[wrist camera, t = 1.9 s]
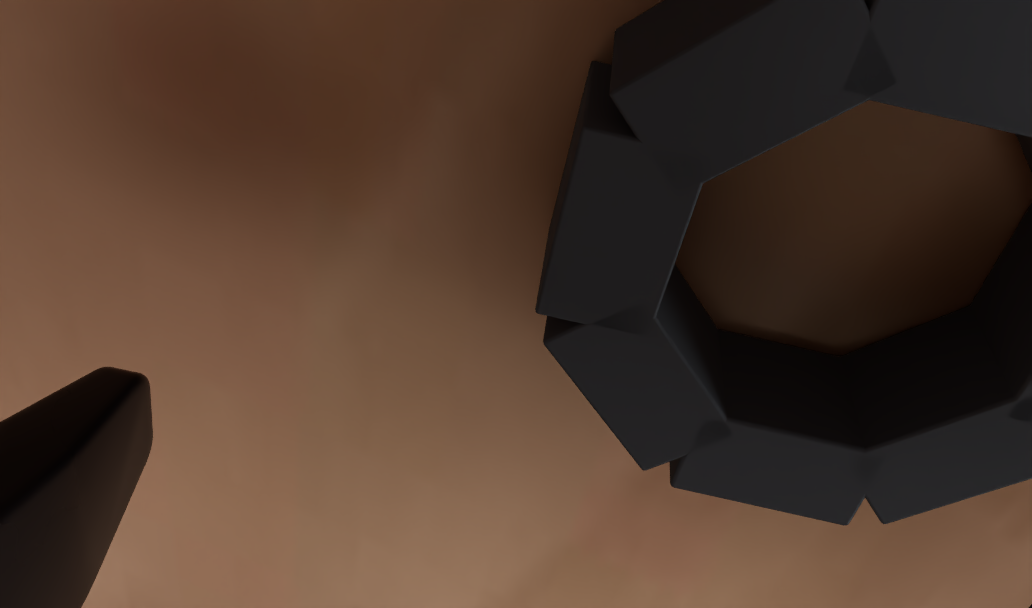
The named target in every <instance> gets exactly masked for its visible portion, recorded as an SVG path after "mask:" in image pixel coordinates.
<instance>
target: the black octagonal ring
mask: <svg viewBox="0 0 1032 608" xmlns="http://www.w3.org/2000/svg"><path fill="white" fill-rule="evenodd" d="M868 100H872V101H876V102H880V103H885V104H889V105H893V106H898V107H902V108H906V109H911V110H915V111H919V112H924V113H928V114H932V115H937V116H941V117H945V118H950V119H954V120H958V121H963V122H967V123H971V124H976V125H980V126H984V127H989V128H993V129H997V130H1002V131H1006V132H1010V133H1015V134H1016V136H1017V138H1018V141H1019V143H1020V146H1021V148H1022V150H1023V153H1024V155H1025V158H1026V160H1027V162H1028V165H1029V167H1030V170H1031V172H1032V0H664V1H662V2H661V3H659V4H657V5H656V6H654V7H652V8H651V9H649V10H647V11H646V12H644V13H642V14H641V15H639V16H637V17H636V18H634V19H632V20H631V21H629V22H628V23H626V24H624V25H623V26H621V27H619V28H618V29H616V31H615V36H614V47H613V58H612V65H610V64H606V63H601V62H597V61H592V62H591V64H590V68H589V72H588V76H587V80H586V84H585V88H584V92H583V96H582V100H581V104H580V108H579V112H578V116H577V120H576V124H575V128H574V132H573V136H572V140H571V144H570V148H569V152H568V156H567V160H566V164H565V168H564V172H563V176H562V180H561V184H560V188H559V192H558V196H557V200H556V204H555V208H554V212H553V216H552V220H551V224H550V228H549V233H548V238H547V244H546V250H545V256H544V262H543V268H542V273H541V279H540V285H539V291H538V297H537V303H536V308H535V310H536V313H538V314H542V315H546V316H547V320H546V326H545V333H544V339H543V342H544V345H545V346H546V348H547V349H548V350H549V351H550V353H551V354H552V355H553V356H554V358H555V359H556V360H557V362H558V363H559V364H560V365H561V367H562V368H563V369H564V371H565V372H566V373H567V374H568V376H569V377H570V378H571V379H572V381H573V382H574V383H575V385H576V386H577V387H578V388H579V390H580V391H581V392H582V394H583V395H584V396H585V397H586V399H587V400H588V401H589V402H590V404H591V405H592V406H593V408H594V409H595V410H596V411H597V413H598V414H599V415H600V417H601V418H602V419H603V420H604V422H605V423H606V424H607V425H608V427H609V428H610V429H611V431H612V432H613V433H614V434H615V436H616V437H617V438H618V440H619V441H620V442H621V443H622V445H623V446H624V447H625V448H626V450H627V451H628V452H629V454H630V455H631V456H632V457H633V459H634V460H635V461H636V463H637V464H638V465H639V466H640V468H641V469H642V470H648V469H651V468H653V467H656V466H659V465H661V464H664V463H667V462H669V461H670V484H671V486H672V487H674V488H679V489H683V490H688V491H692V492H697V493H701V494H706V495H710V496H715V497H719V498H724V499H728V500H733V501H737V502H742V503H746V504H751V505H755V506H759V507H764V508H768V509H773V510H777V511H782V512H786V513H791V514H795V515H800V516H804V517H809V518H813V519H818V520H822V521H827V522H831V523H836V524H840V525H848V524H849V523H850V521H851V519H852V518H853V516H854V514H855V513H856V511H857V510H858V508H859V506H860V505H861V503H862V501H863V500H864V498H866V499H867V501H868V503H869V504H870V506H871V507H872V509H873V510H874V512H875V514H876V515H877V517H878V518H879V520H880V521H881V522H882V523H883V524H888V523H891V522H894V521H897V520H900V519H904V518H907V517H910V516H913V515H916V514H920V513H923V512H926V511H929V510H932V509H936V508H939V507H942V506H945V505H948V504H952V503H955V502H958V501H961V500H964V499H968V498H971V497H974V496H977V495H980V494H984V493H987V492H990V491H993V490H996V489H1000V488H1003V487H1006V486H1009V485H1012V484H1016V483H1019V482H1022V481H1025V480H1028V479H1032V204H1031V205H1030V207H1029V209H1028V210H1027V212H1026V214H1025V215H1024V217H1023V219H1022V220H1021V222H1020V224H1019V225H1018V227H1017V229H1016V230H1015V232H1014V234H1013V235H1012V237H1011V239H1010V240H1009V242H1008V244H1007V245H1006V247H1005V249H1004V250H1003V252H1002V254H1001V255H1000V257H999V259H998V260H997V262H996V264H995V265H994V267H993V269H992V270H991V272H990V274H989V275H988V277H987V279H986V280H985V282H984V284H983V285H982V287H981V289H980V290H979V292H978V294H977V295H976V297H975V299H974V300H973V302H972V304H971V305H970V306H968V307H966V308H963V309H961V310H958V311H956V312H953V313H950V314H948V315H945V316H943V317H940V318H938V319H935V320H933V321H930V322H928V323H925V324H923V325H920V326H917V327H915V328H912V329H910V330H907V331H905V332H902V333H900V334H897V335H895V336H892V337H890V338H887V339H884V340H882V341H879V342H877V343H874V344H872V345H869V346H867V347H864V348H862V349H859V350H857V351H854V352H851V353H849V354H846V355H844V356H841V357H838V356H834V355H829V354H825V353H820V352H816V351H812V350H807V349H803V348H798V347H794V346H789V345H785V344H781V343H776V342H772V341H767V340H763V339H759V338H754V337H750V336H745V335H741V334H736V333H732V332H728V331H723V330H719V329H717V327H716V326H715V324H714V323H713V321H712V320H711V318H710V317H709V315H708V314H707V312H706V311H705V309H704V308H703V306H702V305H701V303H700V302H699V300H698V299H697V297H696V295H695V294H694V292H693V291H692V289H691V288H690V286H689V285H688V283H687V282H686V280H685V279H684V277H683V276H682V274H681V273H680V271H679V270H678V268H677V267H676V265H675V261H676V258H677V256H678V253H679V250H680V247H681V244H682V241H683V239H684V236H685V233H686V230H687V227H688V224H689V222H690V219H691V216H692V213H693V210H694V207H695V205H696V202H697V199H698V196H699V193H700V190H701V188H702V185H703V183H705V182H707V181H709V180H711V179H713V178H715V177H717V176H719V175H721V174H723V173H725V172H727V171H728V170H730V169H732V168H734V167H736V166H738V165H740V164H742V163H744V162H746V161H748V160H750V159H752V158H754V157H756V156H758V155H760V154H762V153H764V152H766V151H768V150H770V149H772V148H774V147H776V146H778V145H780V144H782V143H784V142H786V141H788V140H790V139H792V138H794V137H796V136H798V135H800V134H802V133H804V132H806V131H808V130H810V129H812V128H814V127H816V126H818V125H820V124H822V123H824V122H826V121H828V120H830V119H832V118H834V117H836V116H838V115H840V114H842V113H844V112H846V111H848V110H850V109H852V108H854V107H856V106H858V105H860V104H862V103H864V102H866V101H868Z"/></svg>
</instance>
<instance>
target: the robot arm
mask: <svg viewBox="0 0 1032 608" xmlns="http://www.w3.org/2000/svg"><path fill="white" fill-rule="evenodd" d="M152 440H153V428H152V411H151V394H150V385H149V381H148V379H147V377H146V376H144V375H142V374H141V373H137V372H132V371H127V370H123V369H118V368H114V367H103V368H99V369H97V370H95V371H93V372H91V373H89V374H87V375H85V376H84V377H82V378H80V379H78V380H76V381H75V382H73V383H71V384H69V385H67V386H65V387H64V388H62V389H60V390H58V391H56V392H54V393H53V394H51V395H49V396H47V397H45V398H43V399H42V400H40V401H38V402H36V403H34V404H32V405H31V406H29V407H27V408H25V409H23V410H21V411H20V412H18V413H16V414H14V415H12V416H11V417H9V418H7V419H5V420H3V421H1V422H0V608H81V607H82V605H83V603H84V601H85V600H86V598H87V596H88V594H89V591H90V589H91V587H92V585H93V583H94V581H95V578H96V576H97V574H98V572H99V569H100V567H101V565H102V563H103V560H104V558H105V556H106V553H107V551H108V549H109V547H110V544H111V542H112V540H113V537H114V535H115V533H116V531H117V528H118V526H119V524H120V521H121V519H122V517H123V514H124V512H125V510H126V508H127V505H128V503H129V501H130V498H131V496H132V494H133V492H134V489H135V487H136V485H137V482H138V480H139V478H140V475H141V473H142V471H143V469H144V466H145V464H146V462H147V459H148V457H149V453H150V450H151V446H152ZM1029 608H1032V604H1031V606H1030V607H1029Z"/></svg>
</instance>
